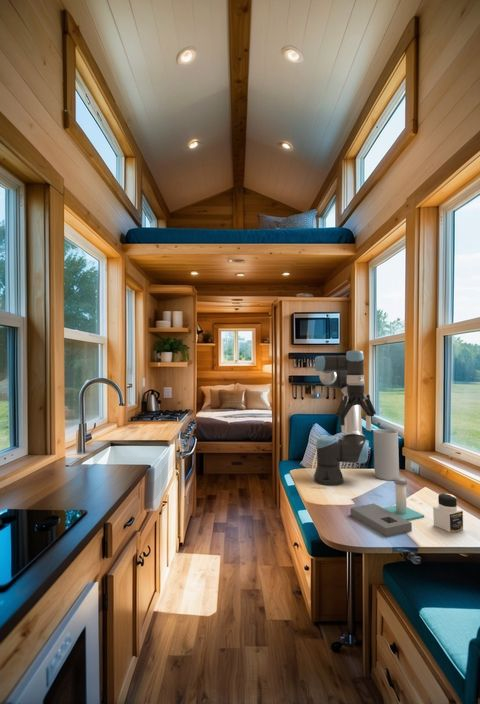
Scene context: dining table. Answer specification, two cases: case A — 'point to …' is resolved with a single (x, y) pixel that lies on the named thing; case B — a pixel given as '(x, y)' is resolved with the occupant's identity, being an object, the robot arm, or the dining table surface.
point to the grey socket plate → (381, 519)
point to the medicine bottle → (448, 514)
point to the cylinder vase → (386, 454)
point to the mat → (409, 515)
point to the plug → (400, 494)
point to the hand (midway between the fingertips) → (356, 431)
